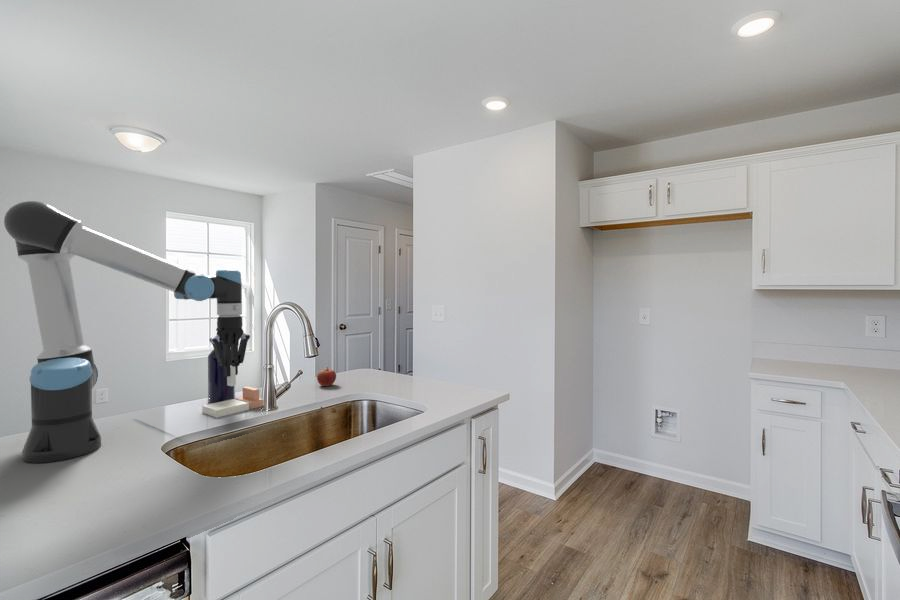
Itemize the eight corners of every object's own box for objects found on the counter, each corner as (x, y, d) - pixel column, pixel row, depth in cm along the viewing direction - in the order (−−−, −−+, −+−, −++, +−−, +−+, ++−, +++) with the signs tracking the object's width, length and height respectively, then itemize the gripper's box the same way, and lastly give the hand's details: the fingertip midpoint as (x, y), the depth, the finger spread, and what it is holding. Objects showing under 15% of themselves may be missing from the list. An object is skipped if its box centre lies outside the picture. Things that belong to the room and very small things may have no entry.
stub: (249, 409, 147) (249, 391, 147) (235, 404, 152) (235, 388, 152) (263, 406, 151) (263, 389, 151) (249, 401, 156) (249, 385, 156)
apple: (337, 383, 192) (337, 365, 192) (334, 387, 184) (334, 369, 184) (319, 383, 192) (319, 365, 191) (315, 387, 184) (315, 369, 183)
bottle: (241, 400, 163) (240, 320, 162) (226, 406, 154) (225, 322, 153) (218, 399, 164) (217, 320, 163) (201, 406, 155) (201, 322, 154)
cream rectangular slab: (216, 417, 138) (216, 409, 138) (202, 412, 143) (202, 405, 143) (249, 409, 147) (249, 402, 147) (234, 405, 152) (234, 398, 152)
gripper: (216, 317, 138) (217, 390, 139) (254, 315, 148) (255, 383, 149) (204, 316, 142) (206, 387, 143) (242, 314, 153) (243, 380, 154)
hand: (231, 385), depth 146 cm, fingers closed
